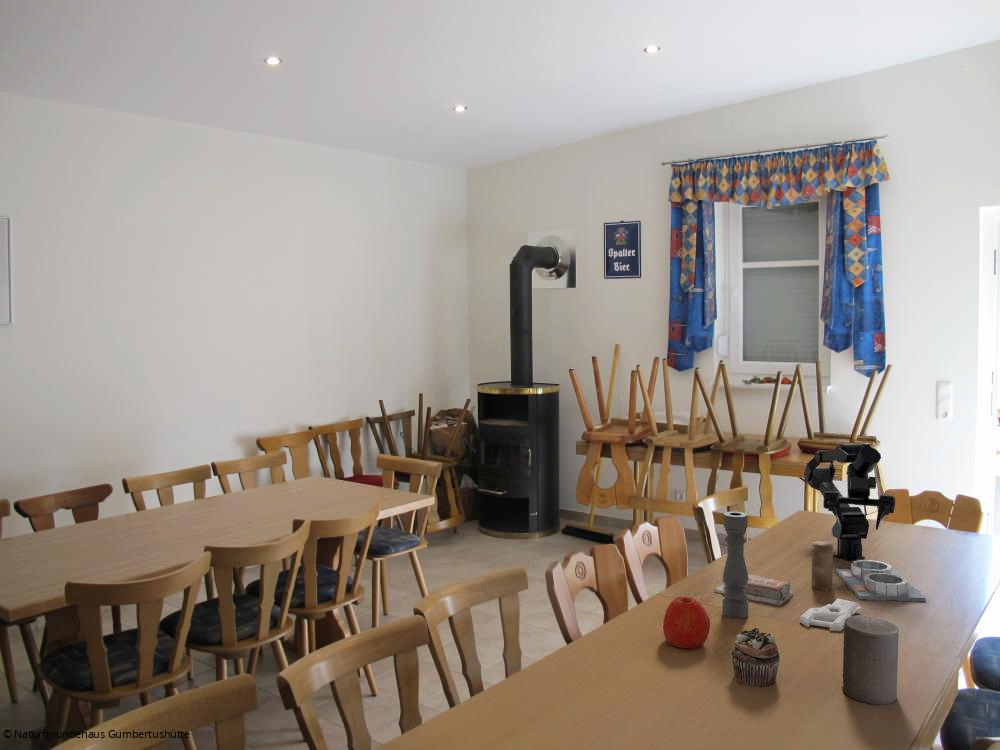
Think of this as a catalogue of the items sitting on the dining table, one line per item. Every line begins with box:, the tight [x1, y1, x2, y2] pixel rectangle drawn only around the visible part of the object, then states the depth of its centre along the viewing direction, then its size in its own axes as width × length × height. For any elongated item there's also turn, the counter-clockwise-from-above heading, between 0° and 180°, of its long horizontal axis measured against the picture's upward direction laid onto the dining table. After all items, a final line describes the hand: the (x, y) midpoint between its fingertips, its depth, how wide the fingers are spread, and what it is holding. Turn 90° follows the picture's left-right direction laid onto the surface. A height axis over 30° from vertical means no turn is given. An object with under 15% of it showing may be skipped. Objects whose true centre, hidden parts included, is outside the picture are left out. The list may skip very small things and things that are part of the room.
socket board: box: [835, 559, 927, 603], centre depth 218 cm, size 23×16×4 cm
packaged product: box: [714, 573, 794, 606], centre depth 214 cm, size 18×5×10 cm
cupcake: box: [729, 627, 781, 688], centre depth 163 cm, size 10×10×10 cm
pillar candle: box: [841, 614, 900, 705], centre depth 155 cm, size 10×10×15 cm
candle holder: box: [722, 511, 749, 620], centre depth 198 cm, size 6×6×25 cm
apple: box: [662, 596, 711, 649], centre depth 181 cm, size 10×10×10 cm
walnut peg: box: [811, 541, 834, 592], centre depth 217 cm, size 5×5×12 cm
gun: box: [799, 598, 862, 632], centre depth 195 cm, size 18×3×10 cm
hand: (859, 527), depth 228 cm, fingers open, 9 cm apart
